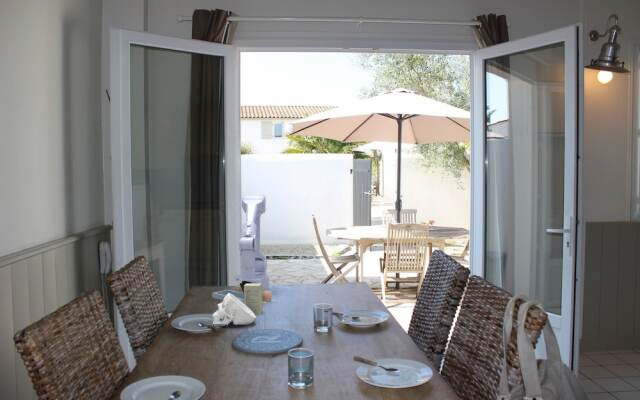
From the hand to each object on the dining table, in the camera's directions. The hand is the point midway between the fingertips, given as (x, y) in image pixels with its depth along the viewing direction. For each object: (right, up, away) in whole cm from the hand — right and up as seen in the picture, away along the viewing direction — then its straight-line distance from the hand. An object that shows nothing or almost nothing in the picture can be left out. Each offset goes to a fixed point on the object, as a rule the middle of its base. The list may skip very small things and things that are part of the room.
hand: (248, 300), depth 242 cm
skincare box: (+4, -4, -16) cm, 17 cm away
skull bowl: (-2, -4, -27) cm, 28 cm away
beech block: (-5, 0, +14) cm, 15 cm away
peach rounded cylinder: (+7, -1, +3) cm, 8 cm away
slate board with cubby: (-2, -2, +6) cm, 7 cm away
